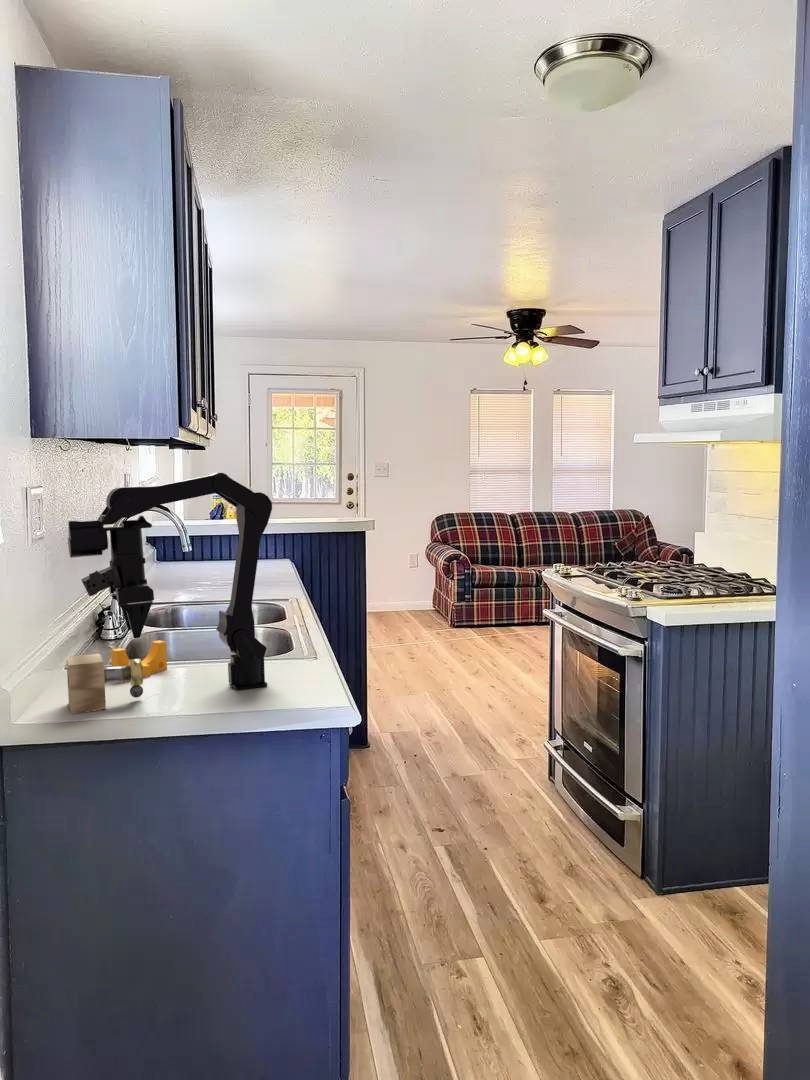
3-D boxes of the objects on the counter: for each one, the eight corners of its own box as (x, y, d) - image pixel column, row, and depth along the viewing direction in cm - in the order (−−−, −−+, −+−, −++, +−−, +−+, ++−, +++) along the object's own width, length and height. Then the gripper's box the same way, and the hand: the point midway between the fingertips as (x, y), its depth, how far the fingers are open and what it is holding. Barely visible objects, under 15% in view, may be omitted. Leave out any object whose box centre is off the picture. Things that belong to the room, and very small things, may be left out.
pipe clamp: (124, 682, 176) (122, 652, 175) (112, 679, 178) (110, 649, 178) (171, 671, 185) (170, 642, 185) (160, 668, 188) (158, 640, 187)
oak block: (102, 699, 162) (99, 653, 161) (105, 709, 155) (103, 661, 154) (68, 703, 159) (66, 656, 159) (71, 714, 152) (68, 665, 151)
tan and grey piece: (141, 693, 163) (139, 656, 163) (145, 699, 159) (143, 661, 158) (88, 699, 159) (86, 661, 159) (90, 706, 155) (88, 667, 154)
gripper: (79, 552, 164) (85, 631, 165) (85, 561, 147) (93, 648, 149) (138, 548, 169) (143, 624, 170) (151, 555, 152) (157, 640, 153)
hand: (133, 633), depth 160 cm, fingers open, 9 cm apart
